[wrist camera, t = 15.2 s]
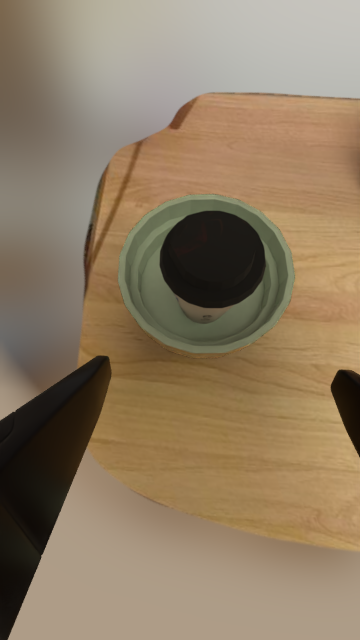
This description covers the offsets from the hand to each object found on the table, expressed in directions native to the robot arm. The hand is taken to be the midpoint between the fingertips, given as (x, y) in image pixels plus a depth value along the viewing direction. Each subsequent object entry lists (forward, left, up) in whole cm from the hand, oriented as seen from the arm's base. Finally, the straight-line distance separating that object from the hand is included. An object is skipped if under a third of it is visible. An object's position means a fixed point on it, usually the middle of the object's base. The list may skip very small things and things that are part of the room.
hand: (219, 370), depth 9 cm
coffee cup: (+5, +6, -13) cm, 15 cm away
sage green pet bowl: (+6, +7, -13) cm, 16 cm away
